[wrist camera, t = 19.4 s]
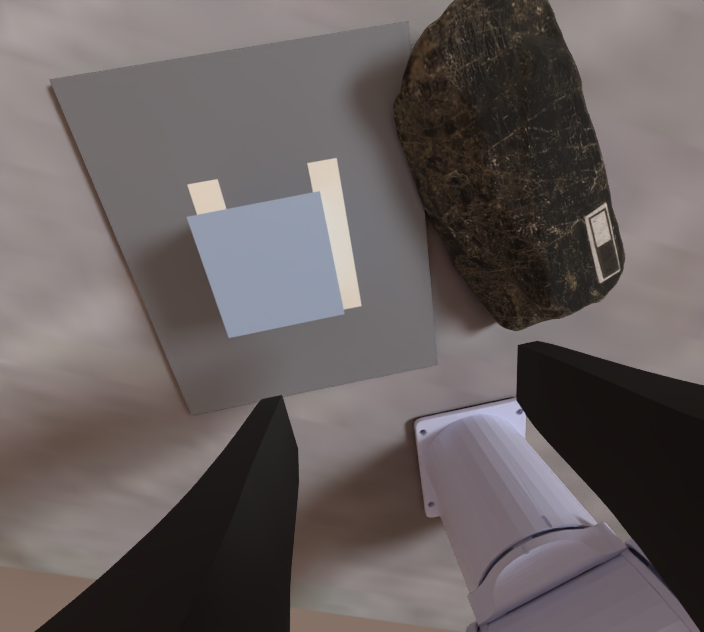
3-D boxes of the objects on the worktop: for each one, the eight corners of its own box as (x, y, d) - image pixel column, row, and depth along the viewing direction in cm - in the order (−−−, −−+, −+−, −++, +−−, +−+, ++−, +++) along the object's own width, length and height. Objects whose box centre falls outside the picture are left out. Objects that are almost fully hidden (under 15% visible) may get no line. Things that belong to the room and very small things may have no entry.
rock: (504, -17, 15) (583, -96, 11) (593, 261, 21) (666, 277, 17) (360, 87, 15) (385, 48, 11) (487, 331, 21) (534, 363, 17)
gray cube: (337, 284, 19) (344, 314, 14) (250, 302, 19) (228, 337, 14) (318, 192, 17) (319, 191, 12) (222, 210, 17) (186, 216, 12)
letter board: (435, 362, 22) (437, 365, 21) (193, 411, 21) (191, 415, 21) (406, 25, 15) (408, 20, 15) (56, 82, 15) (49, 79, 14)
